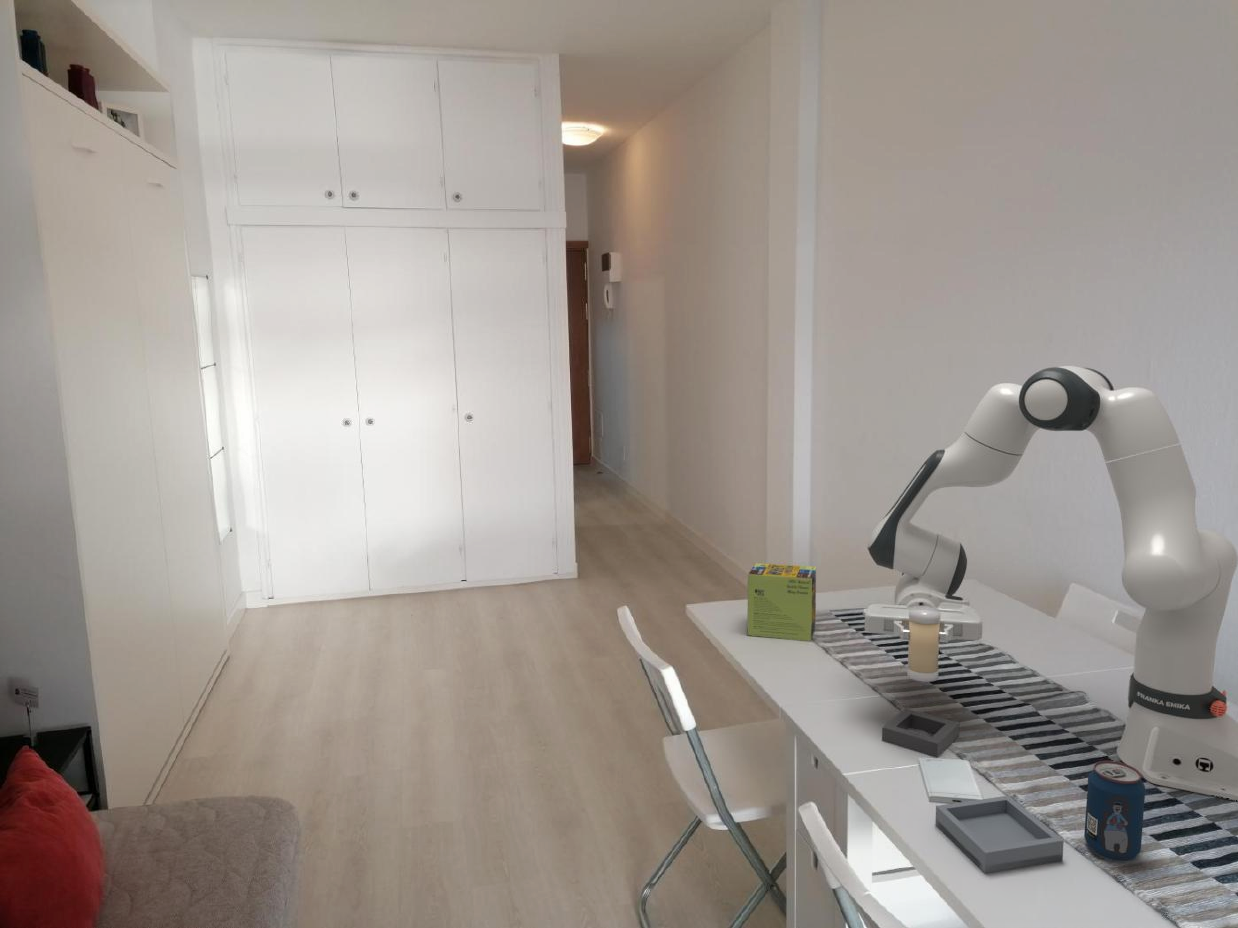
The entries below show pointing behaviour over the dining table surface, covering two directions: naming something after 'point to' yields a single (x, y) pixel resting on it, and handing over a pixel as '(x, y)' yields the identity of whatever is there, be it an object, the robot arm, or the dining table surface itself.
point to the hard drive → (949, 780)
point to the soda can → (1114, 811)
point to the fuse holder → (922, 743)
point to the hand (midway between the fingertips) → (924, 636)
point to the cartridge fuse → (923, 643)
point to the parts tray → (998, 834)
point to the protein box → (782, 601)
